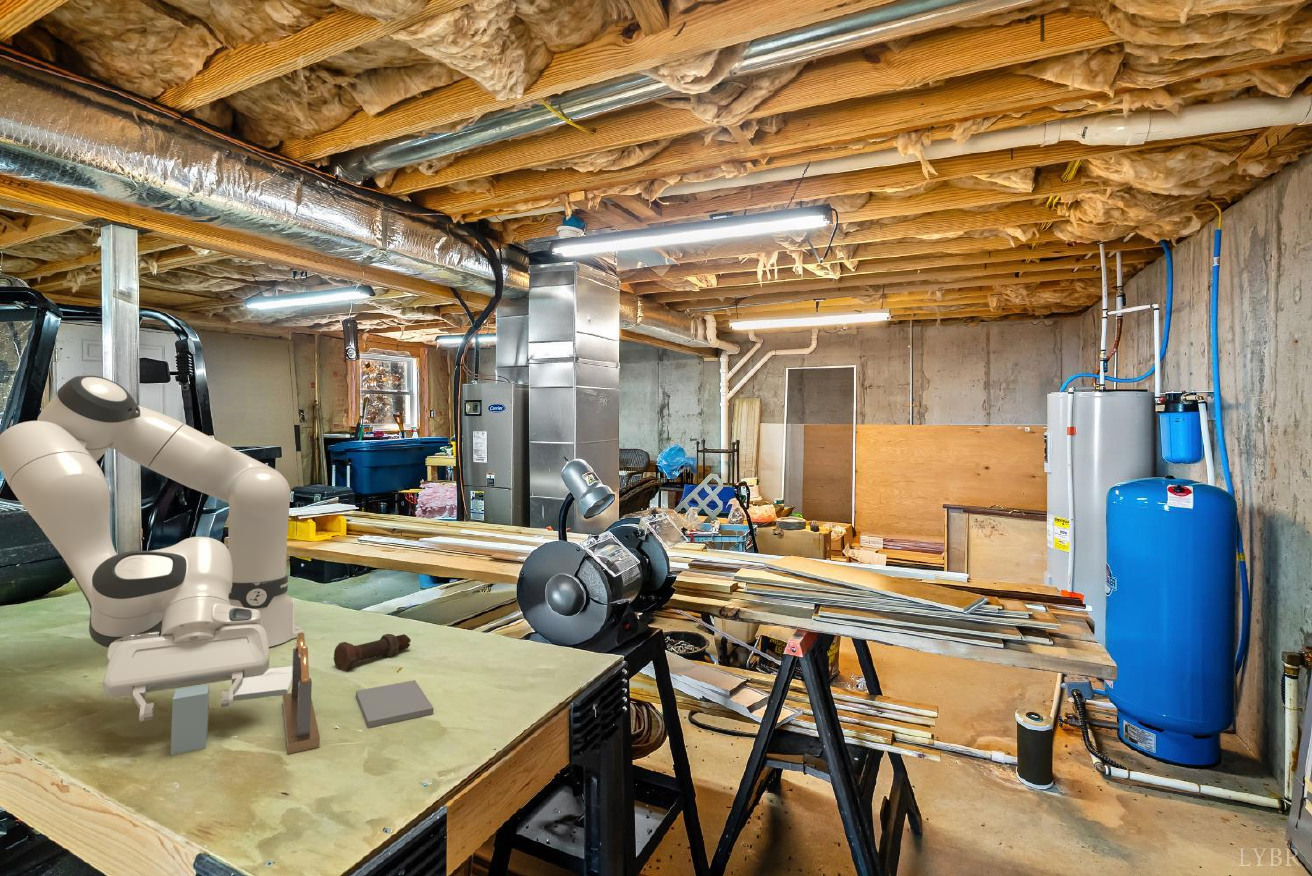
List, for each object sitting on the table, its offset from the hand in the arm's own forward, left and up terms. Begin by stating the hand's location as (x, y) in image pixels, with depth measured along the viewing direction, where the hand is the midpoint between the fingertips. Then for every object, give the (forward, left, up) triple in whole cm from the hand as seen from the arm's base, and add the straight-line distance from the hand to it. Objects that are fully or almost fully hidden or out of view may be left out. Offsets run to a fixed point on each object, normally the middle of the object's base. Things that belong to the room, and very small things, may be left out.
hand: (187, 711), depth 89 cm
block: (0, 0, -5) cm, 5 cm away
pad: (0, +28, -5) cm, 29 cm away
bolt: (-25, +29, -5) cm, 39 cm away
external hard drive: (-21, +10, -6) cm, 24 cm away
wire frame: (0, +14, -5) cm, 15 cm away
